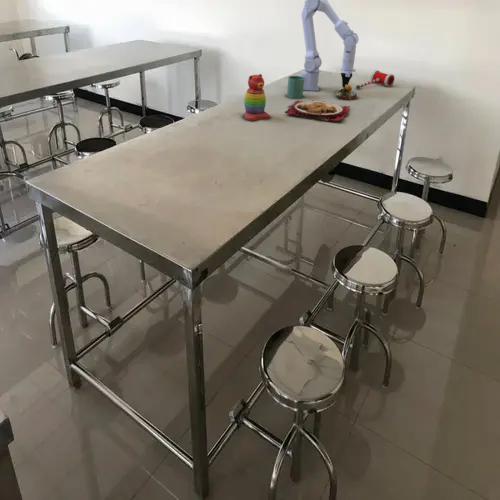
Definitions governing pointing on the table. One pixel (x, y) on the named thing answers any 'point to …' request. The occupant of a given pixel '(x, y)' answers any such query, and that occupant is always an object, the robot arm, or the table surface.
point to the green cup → (295, 87)
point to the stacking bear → (255, 99)
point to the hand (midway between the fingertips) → (344, 88)
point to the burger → (345, 93)
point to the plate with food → (318, 110)
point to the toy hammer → (379, 79)
